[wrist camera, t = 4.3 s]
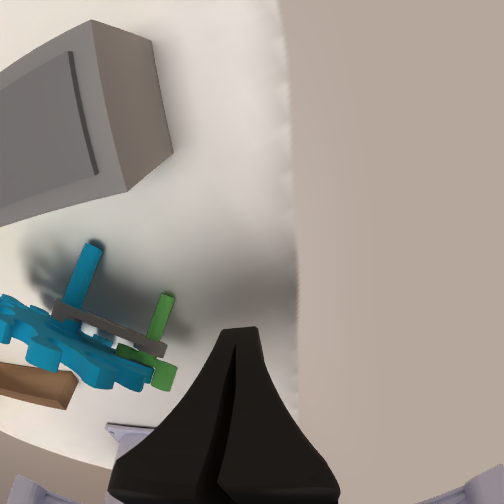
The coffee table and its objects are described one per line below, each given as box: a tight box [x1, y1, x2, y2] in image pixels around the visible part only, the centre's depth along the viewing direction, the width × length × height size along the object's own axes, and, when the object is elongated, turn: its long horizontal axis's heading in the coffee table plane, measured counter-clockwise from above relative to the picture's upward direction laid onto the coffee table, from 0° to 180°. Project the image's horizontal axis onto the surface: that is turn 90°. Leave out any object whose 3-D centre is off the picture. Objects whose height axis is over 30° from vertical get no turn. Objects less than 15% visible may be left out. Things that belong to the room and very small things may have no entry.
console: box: [0, 20, 173, 227], centre depth 9 cm, size 5×7×5 cm
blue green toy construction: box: [0, 243, 178, 392], centre depth 13 cm, size 11×6×10 cm
